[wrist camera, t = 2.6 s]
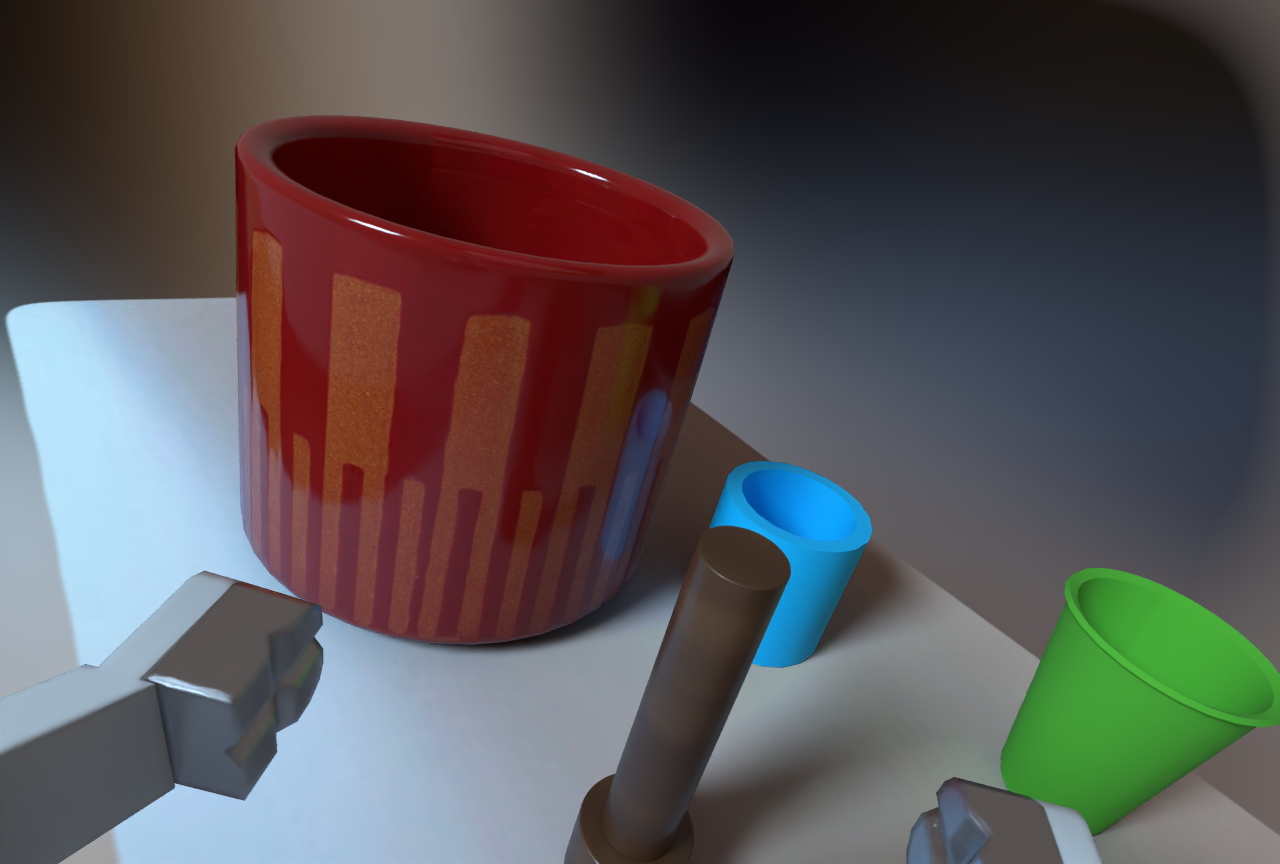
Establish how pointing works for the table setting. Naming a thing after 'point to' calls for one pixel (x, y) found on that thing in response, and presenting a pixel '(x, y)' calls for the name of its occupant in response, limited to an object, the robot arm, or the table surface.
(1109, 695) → the cup
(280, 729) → the robot arm
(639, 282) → the planter
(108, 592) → the table surface
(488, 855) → the table surface
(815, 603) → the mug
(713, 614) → the pestle
